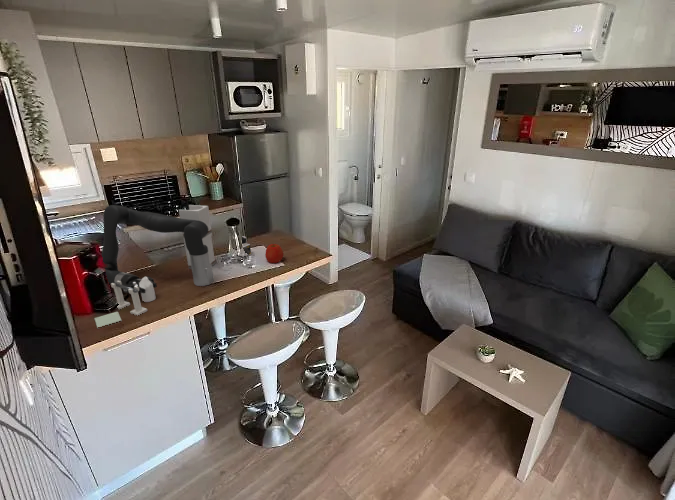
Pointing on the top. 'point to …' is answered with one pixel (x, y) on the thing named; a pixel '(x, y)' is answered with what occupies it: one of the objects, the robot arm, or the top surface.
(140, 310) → the hurdle posts
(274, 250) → the apple
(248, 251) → the medicine bottle
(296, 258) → the top surface
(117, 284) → the rod
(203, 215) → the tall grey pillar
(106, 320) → the mat
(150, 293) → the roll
